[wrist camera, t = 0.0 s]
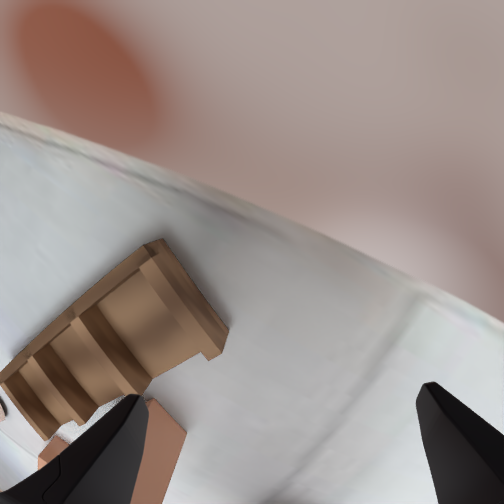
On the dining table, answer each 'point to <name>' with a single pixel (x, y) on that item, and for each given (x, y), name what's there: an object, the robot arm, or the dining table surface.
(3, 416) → the toilet paper hanger
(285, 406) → the dining table surface
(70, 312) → the tray
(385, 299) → the dining table surface
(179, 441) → the clay bar
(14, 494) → the robot arm
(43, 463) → the clay bar
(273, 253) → the dining table surface
